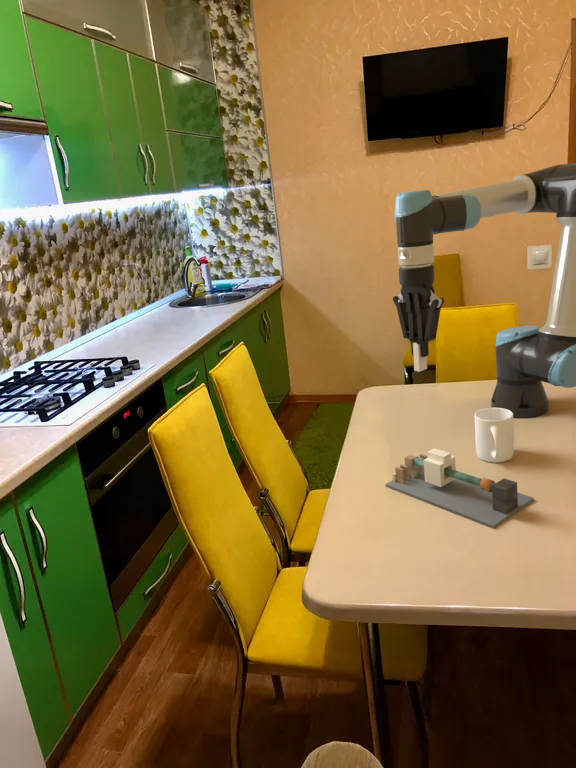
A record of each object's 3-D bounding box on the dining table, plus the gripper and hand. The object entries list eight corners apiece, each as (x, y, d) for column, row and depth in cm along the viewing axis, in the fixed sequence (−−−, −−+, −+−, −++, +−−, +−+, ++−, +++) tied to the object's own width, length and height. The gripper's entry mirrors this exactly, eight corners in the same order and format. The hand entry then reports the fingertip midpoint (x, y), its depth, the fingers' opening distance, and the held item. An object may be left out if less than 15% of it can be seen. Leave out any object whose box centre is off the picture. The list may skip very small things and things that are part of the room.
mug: (477, 470, 142) (475, 427, 138) (475, 448, 153) (473, 408, 149) (517, 470, 139) (516, 426, 136) (512, 447, 150) (511, 406, 147)
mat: (425, 464, 148) (425, 462, 148) (533, 500, 126) (533, 497, 126) (385, 486, 140) (385, 484, 140) (493, 528, 118) (493, 525, 118)
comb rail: (421, 467, 146) (419, 444, 145) (526, 503, 125) (525, 476, 124) (392, 483, 141) (390, 459, 139) (497, 523, 120) (496, 496, 118)
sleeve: (439, 472, 139) (438, 446, 137) (456, 478, 135) (454, 450, 133) (424, 481, 136) (423, 454, 134) (441, 487, 132) (439, 459, 130)
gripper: (382, 267, 136) (388, 369, 143) (428, 268, 126) (432, 378, 133) (405, 262, 140) (410, 361, 147) (451, 263, 130) (454, 370, 137)
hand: (420, 369), depth 140 cm, fingers closed
